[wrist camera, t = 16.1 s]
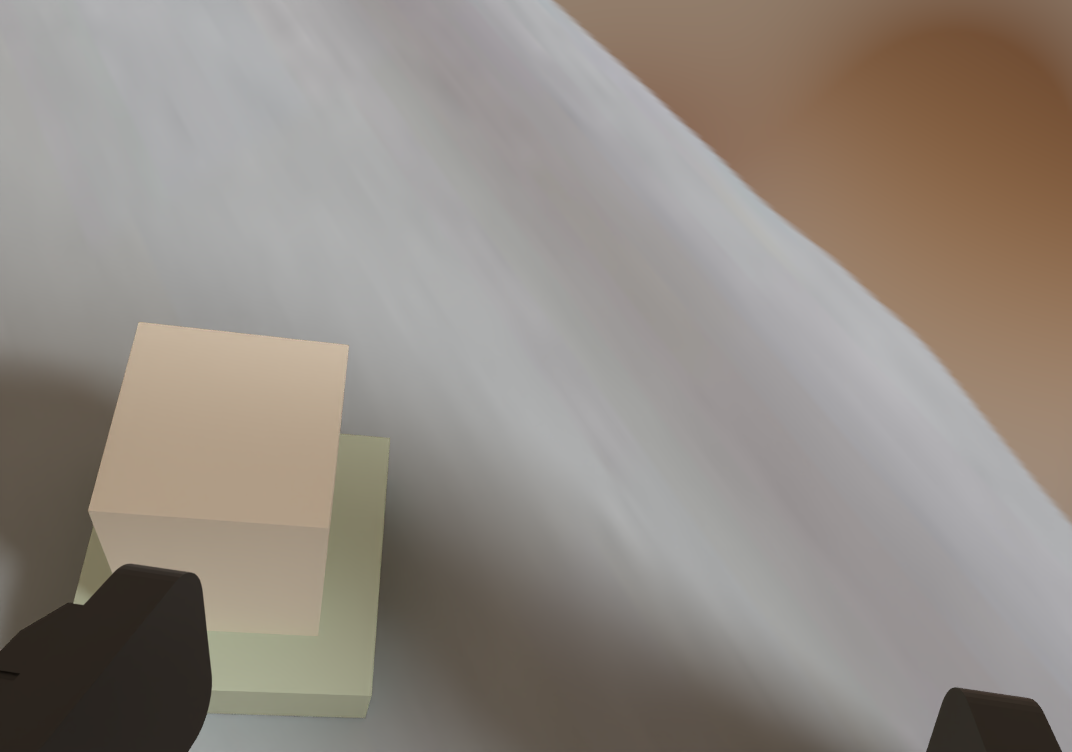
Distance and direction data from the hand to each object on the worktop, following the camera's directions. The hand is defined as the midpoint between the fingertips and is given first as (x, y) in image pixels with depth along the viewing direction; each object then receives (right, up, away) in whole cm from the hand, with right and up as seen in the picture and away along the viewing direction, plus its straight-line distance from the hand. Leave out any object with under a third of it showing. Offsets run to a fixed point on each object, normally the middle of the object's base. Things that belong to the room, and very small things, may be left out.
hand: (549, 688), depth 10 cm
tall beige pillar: (-11, -3, +23) cm, 26 cm away
